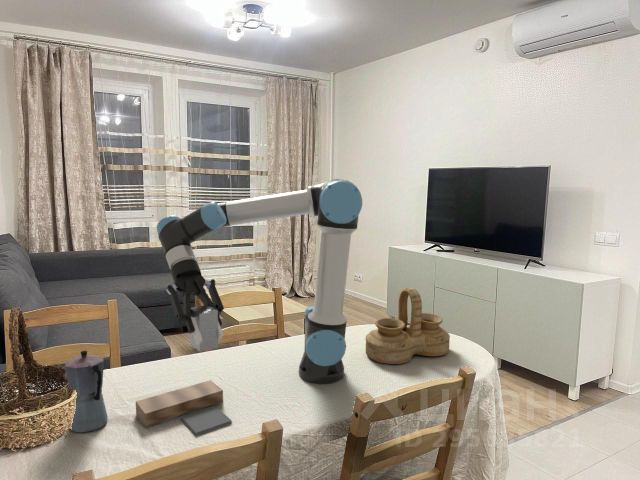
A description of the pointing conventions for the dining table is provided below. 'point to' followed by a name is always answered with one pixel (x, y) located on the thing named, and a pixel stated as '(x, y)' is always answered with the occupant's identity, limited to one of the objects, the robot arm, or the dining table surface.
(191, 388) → the body
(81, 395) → the moka pot
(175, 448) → the dining table surface
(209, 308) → the grey rectangular block
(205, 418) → the rubber pad
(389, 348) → the ceramic vessel
